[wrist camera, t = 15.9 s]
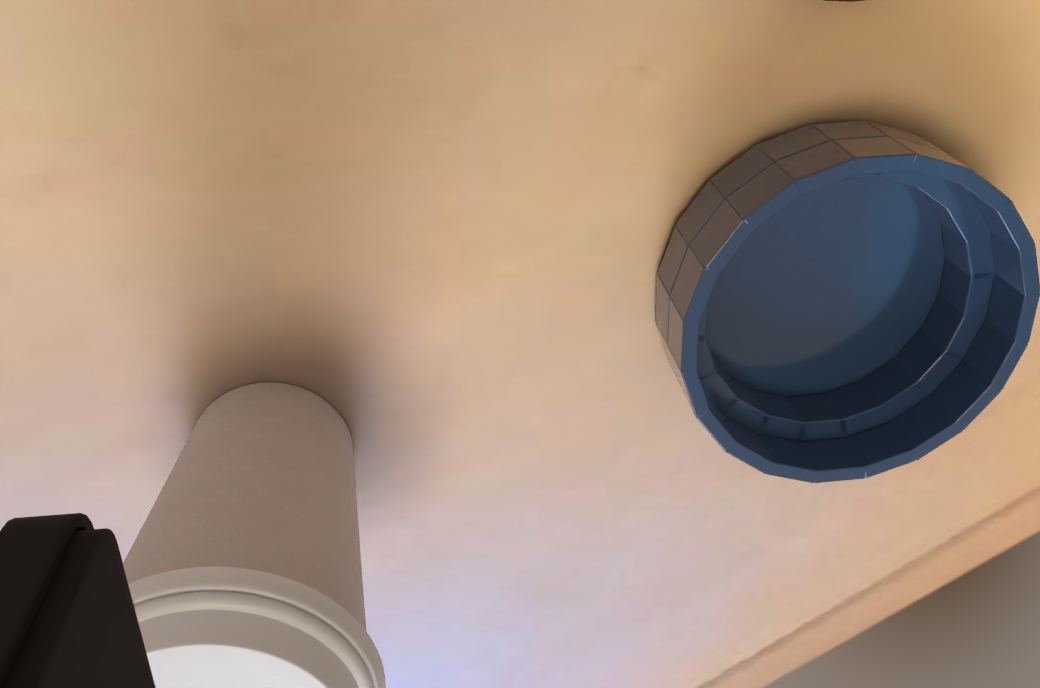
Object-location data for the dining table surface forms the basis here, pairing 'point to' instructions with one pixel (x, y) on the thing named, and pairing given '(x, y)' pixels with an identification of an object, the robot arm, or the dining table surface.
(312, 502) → the coffee cup
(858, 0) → the trivet
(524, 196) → the dining table surface
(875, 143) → the bowl
